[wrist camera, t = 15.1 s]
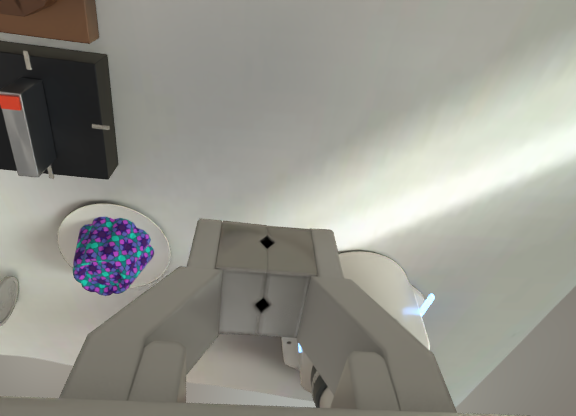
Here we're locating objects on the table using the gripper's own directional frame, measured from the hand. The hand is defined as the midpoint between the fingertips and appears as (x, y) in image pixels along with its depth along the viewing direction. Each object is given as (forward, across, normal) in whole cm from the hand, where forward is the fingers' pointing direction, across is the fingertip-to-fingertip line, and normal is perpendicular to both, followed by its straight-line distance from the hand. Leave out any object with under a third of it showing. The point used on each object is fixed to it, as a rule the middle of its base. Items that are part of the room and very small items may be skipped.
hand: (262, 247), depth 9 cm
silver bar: (+26, +18, +10) cm, 33 cm away
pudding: (+29, +14, +25) cm, 41 cm away
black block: (+29, +18, +10) cm, 35 cm away
